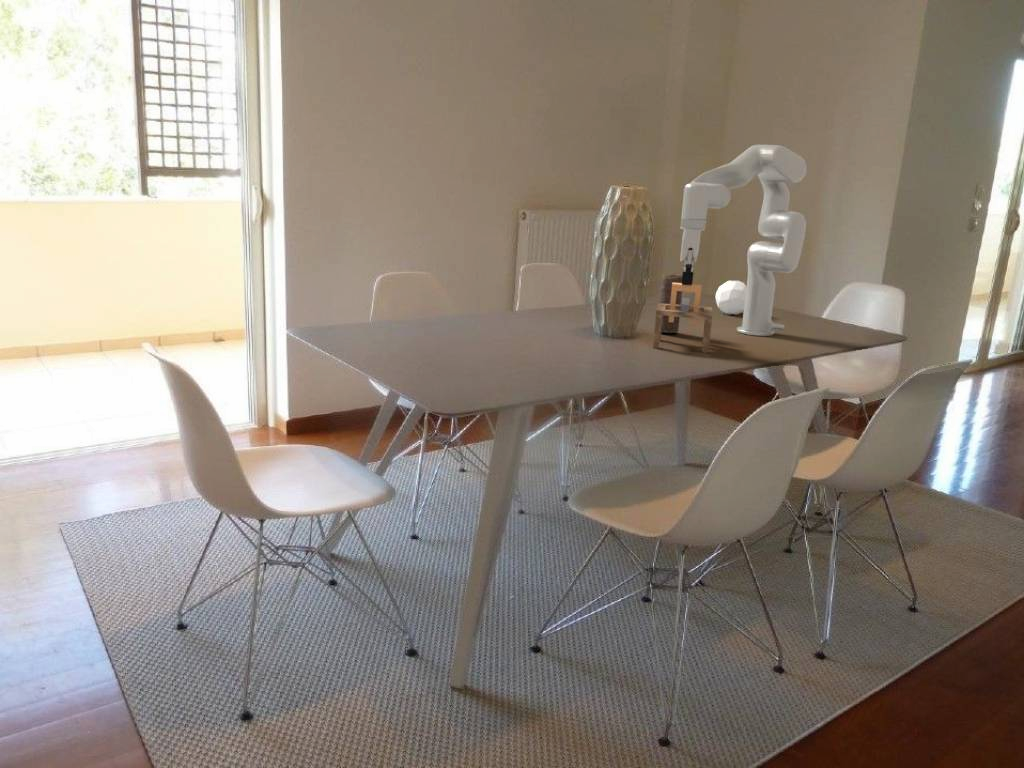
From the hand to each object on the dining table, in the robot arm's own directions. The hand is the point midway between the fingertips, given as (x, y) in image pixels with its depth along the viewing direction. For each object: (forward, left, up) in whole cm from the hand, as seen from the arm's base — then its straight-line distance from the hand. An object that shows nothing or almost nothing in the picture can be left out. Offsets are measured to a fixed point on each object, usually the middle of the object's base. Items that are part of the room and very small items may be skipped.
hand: (687, 283), depth 273 cm
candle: (+5, -19, -20) cm, 28 cm away
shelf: (0, 0, -20) cm, 20 cm away
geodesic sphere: (-18, -70, -20) cm, 75 cm away
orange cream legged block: (0, 0, -12) cm, 12 cm away
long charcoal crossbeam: (0, 0, -8) cm, 8 cm away
